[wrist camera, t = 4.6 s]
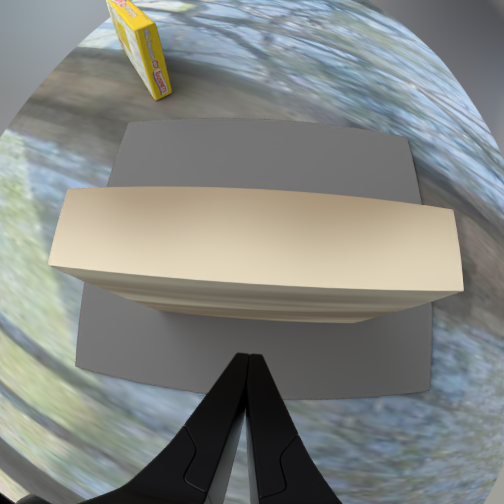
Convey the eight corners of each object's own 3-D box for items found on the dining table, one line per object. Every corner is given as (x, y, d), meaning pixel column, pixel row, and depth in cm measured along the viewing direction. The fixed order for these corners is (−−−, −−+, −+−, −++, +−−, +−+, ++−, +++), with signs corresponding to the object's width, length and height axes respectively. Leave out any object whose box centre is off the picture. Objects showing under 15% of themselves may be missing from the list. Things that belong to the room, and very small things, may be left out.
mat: (427, 390, 16) (429, 390, 16) (77, 366, 17) (75, 366, 17) (405, 139, 22) (406, 137, 22) (129, 124, 23) (128, 122, 22)
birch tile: (352, 323, 17) (463, 290, 7) (159, 310, 18) (48, 264, 7) (353, 283, 18) (452, 209, 7) (163, 272, 18) (68, 188, 8)
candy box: (176, 92, 24) (156, 21, 16) (155, 103, 24) (129, 32, 16) (133, 36, 28) (117, -13, 20) (119, 43, 28) (100, -5, 20)
